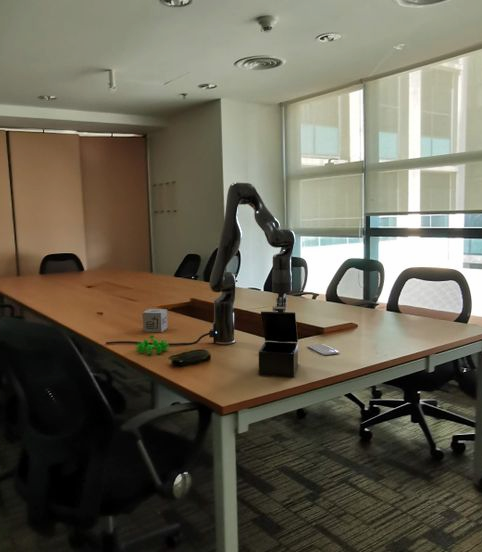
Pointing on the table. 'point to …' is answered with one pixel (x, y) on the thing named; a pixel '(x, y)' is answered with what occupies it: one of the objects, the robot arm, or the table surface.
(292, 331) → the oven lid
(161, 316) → the icon cube
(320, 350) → the mobile phone
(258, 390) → the table surface
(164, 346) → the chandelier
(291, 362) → the black open box
